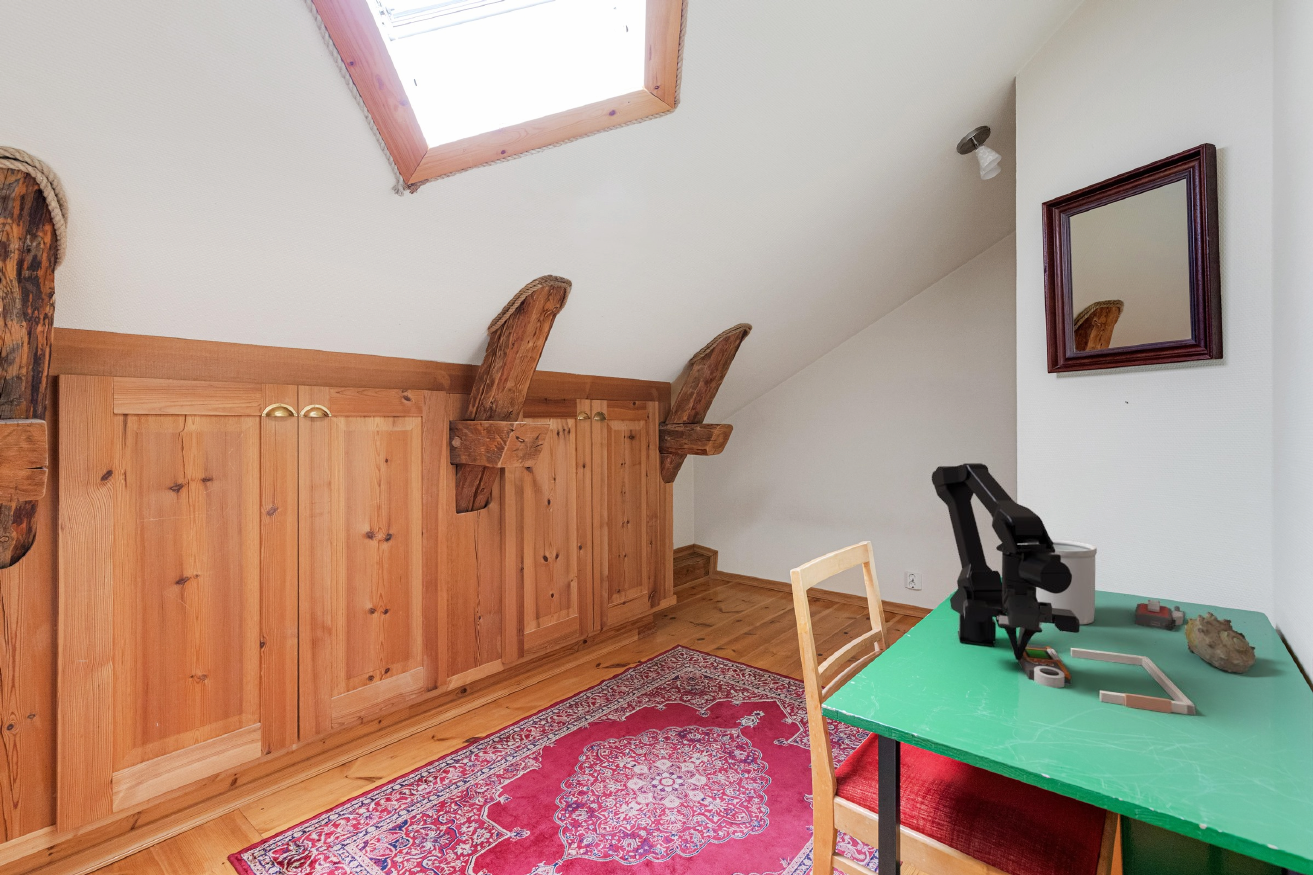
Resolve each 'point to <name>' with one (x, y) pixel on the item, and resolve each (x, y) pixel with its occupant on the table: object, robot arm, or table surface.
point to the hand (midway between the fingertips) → (1017, 659)
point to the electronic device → (1044, 666)
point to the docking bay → (1138, 701)
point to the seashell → (1219, 643)
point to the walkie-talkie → (1157, 615)
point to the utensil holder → (1075, 580)
